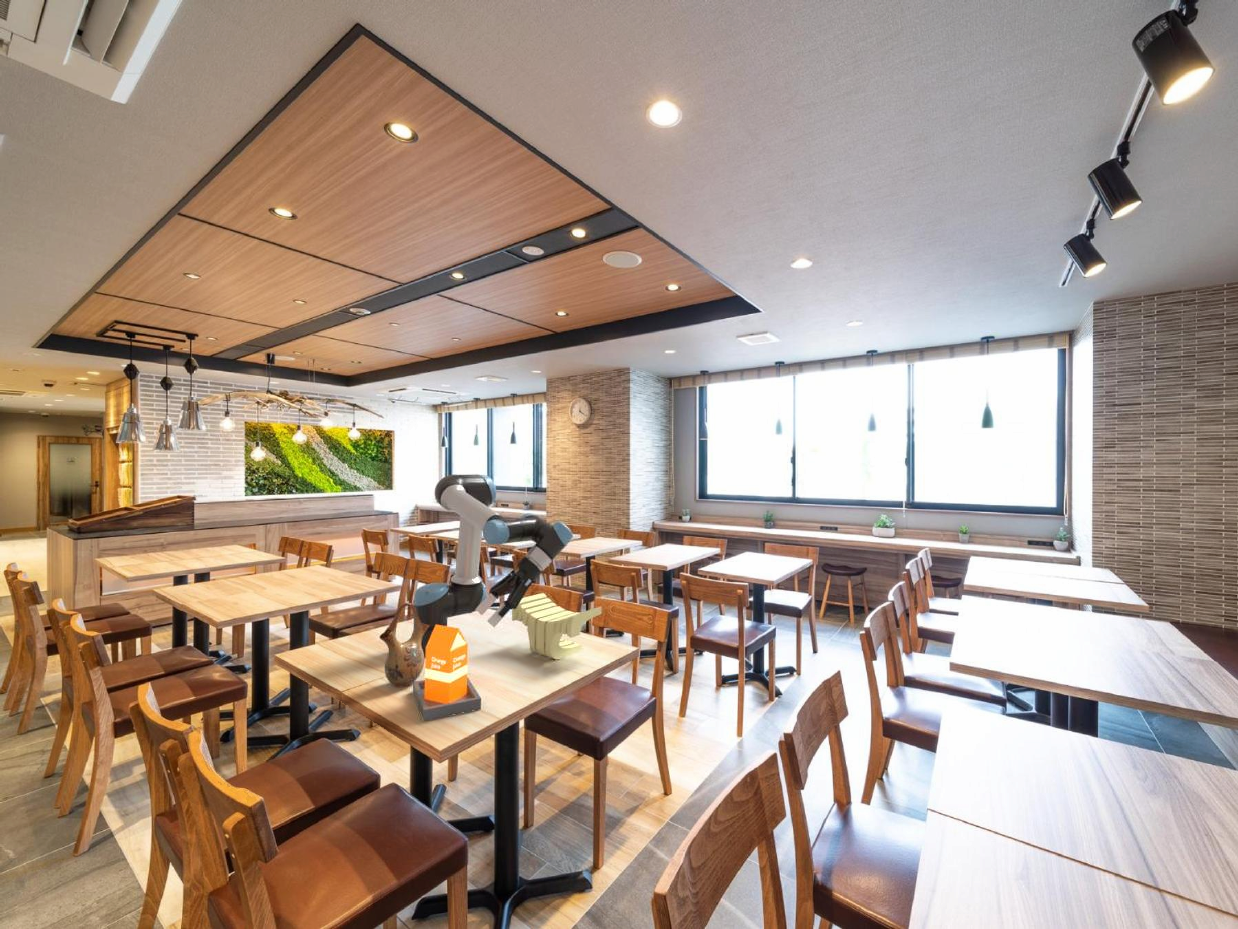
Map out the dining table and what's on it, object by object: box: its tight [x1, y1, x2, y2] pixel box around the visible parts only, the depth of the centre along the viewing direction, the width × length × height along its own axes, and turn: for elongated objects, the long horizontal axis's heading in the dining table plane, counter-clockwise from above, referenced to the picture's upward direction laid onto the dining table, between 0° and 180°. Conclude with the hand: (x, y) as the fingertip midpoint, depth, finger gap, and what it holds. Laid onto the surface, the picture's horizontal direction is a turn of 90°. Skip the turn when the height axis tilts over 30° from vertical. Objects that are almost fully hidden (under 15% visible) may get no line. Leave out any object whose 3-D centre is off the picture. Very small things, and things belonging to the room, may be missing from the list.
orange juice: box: [424, 625, 469, 704], centre depth 146 cm, size 8×9×20 cm
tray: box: [412, 676, 482, 722], centre depth 145 cm, size 20×15×3 cm
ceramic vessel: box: [379, 602, 430, 688], centre depth 156 cm, size 16×9×25 cm, turn 146°
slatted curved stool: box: [511, 592, 603, 660], centre depth 186 cm, size 30×16×18 cm, turn 53°
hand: (484, 618), depth 151 cm, fingers open, 13 cm apart
